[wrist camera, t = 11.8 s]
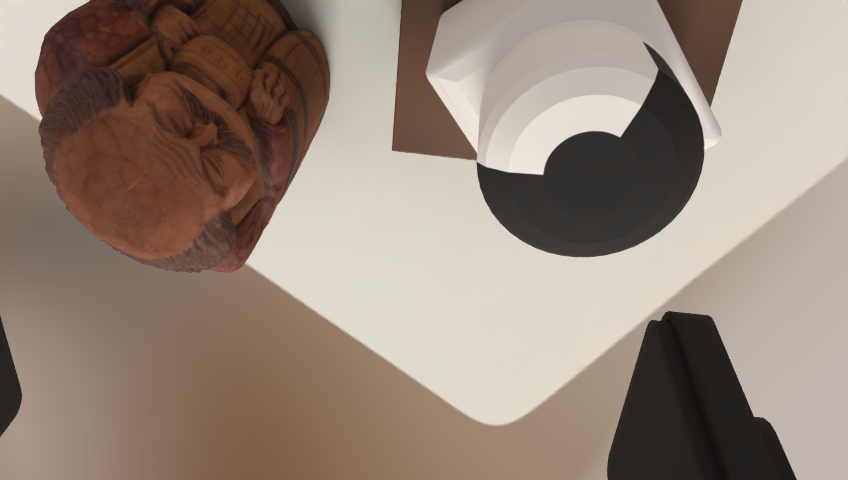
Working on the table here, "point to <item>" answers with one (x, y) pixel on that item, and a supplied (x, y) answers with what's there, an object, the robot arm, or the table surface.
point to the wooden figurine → (178, 123)
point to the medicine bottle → (574, 117)
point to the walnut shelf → (437, 129)
